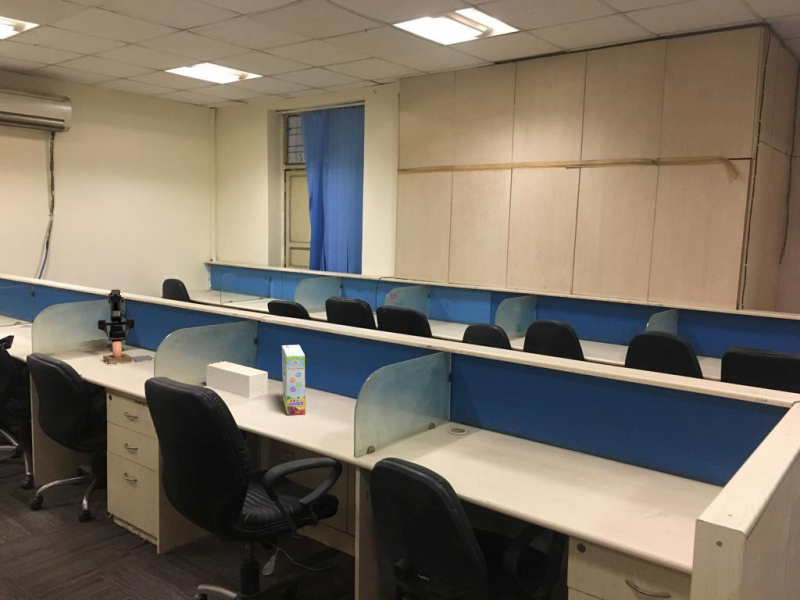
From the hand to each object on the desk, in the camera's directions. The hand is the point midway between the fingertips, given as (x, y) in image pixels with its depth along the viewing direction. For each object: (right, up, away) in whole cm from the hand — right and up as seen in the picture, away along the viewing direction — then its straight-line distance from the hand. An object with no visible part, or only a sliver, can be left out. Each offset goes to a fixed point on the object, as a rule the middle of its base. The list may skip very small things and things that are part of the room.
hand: (116, 336), depth 353 cm
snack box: (+112, -27, -80) cm, 140 cm away
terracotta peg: (+3, -14, -5) cm, 15 cm away
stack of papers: (+81, -23, -54) cm, 100 cm away
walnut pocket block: (+3, -14, -5) cm, 15 cm away
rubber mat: (+13, -13, +3) cm, 19 cm away
